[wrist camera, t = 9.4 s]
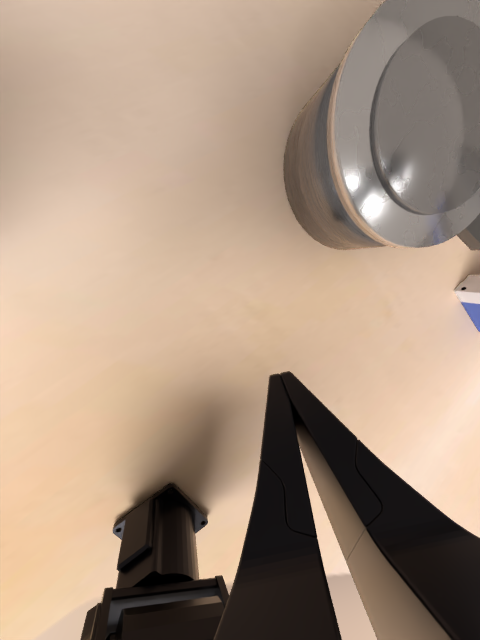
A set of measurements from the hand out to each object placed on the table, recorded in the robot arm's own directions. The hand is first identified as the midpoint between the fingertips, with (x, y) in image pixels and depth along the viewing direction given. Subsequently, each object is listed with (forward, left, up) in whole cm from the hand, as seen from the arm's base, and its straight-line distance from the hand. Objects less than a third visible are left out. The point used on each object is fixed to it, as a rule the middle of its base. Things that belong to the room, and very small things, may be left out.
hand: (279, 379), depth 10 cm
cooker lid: (+5, -17, -6) cm, 18 cm away
